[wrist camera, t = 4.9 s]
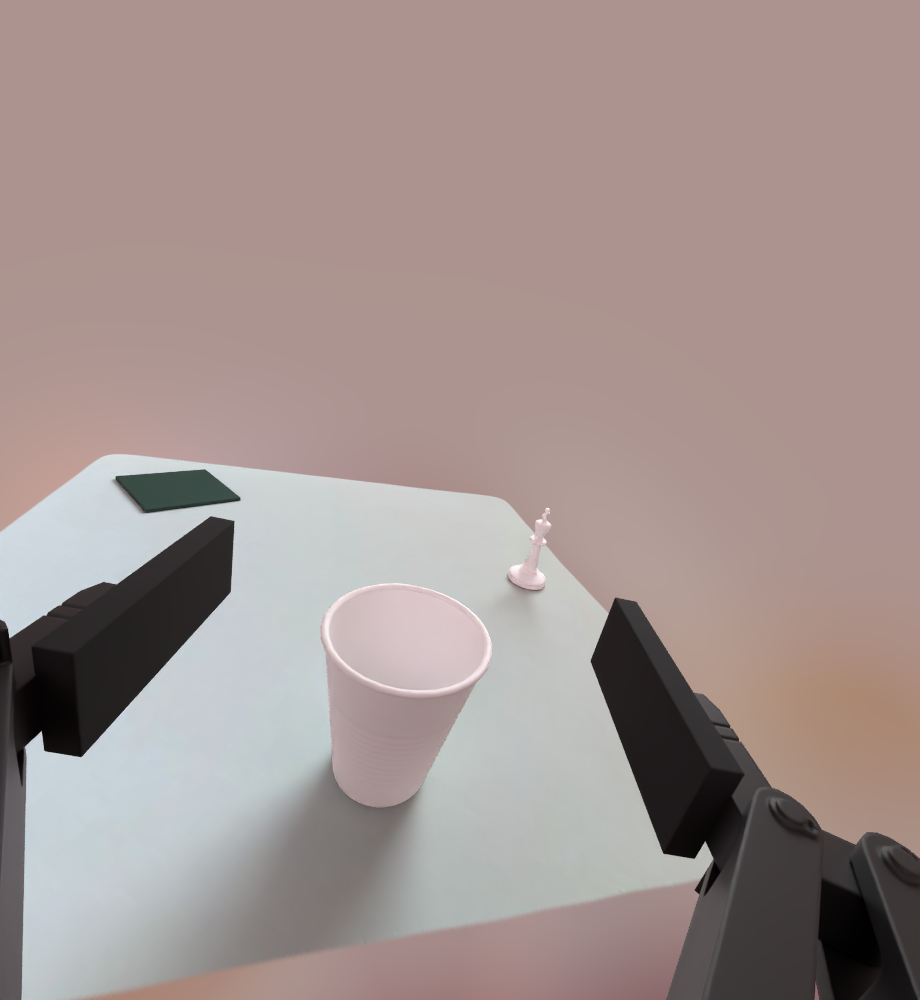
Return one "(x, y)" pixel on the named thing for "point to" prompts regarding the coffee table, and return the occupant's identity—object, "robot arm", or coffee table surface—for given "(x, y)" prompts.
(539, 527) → the chess piece
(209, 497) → the mat
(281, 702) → the coffee table surface
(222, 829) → the coffee table surface
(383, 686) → the cup
